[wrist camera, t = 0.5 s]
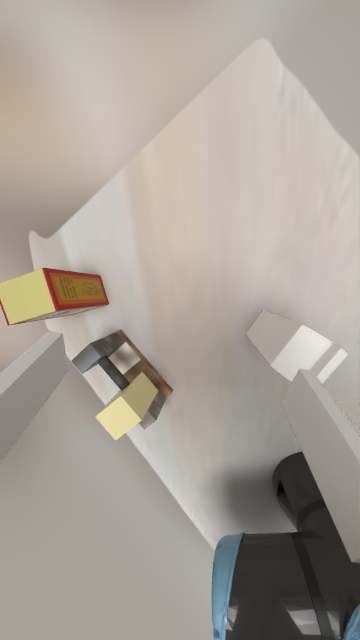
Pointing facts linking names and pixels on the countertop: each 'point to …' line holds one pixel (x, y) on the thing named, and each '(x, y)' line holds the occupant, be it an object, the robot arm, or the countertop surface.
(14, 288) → the baking soda box
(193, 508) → the countertop surface
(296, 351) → the milk
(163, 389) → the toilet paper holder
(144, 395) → the pale yellow block
